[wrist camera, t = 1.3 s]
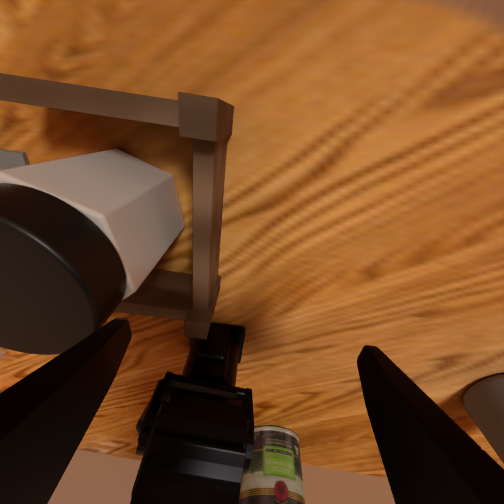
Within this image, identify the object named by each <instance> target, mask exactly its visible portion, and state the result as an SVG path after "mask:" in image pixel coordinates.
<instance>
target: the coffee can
mask: <svg viewBox="0 0 504 504" xmlns="http://www.w3.org/2000/svg"><path fill="white" fill-rule="evenodd" d="M301 470H302V469H301V459H300V450H299V438H298V436H297V435H296V434H295V433H294V432H292V431H290V430H288V429H286V428H282V427H277V426H259V427H255V428H254V445H253V453H252V458H251V463H250V466H249V469H248V471H247V473H243V477H242V483H241V490H240V496H239V504H305V499H304V491H303V490H304V489H303V481H302V480H303V479H302V471H301Z"/></svg>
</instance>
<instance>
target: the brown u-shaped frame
mask: <svg viewBox="0 0 504 504" xmlns="http://www.w3.org/2000/svg"><path fill="white" fill-rule="evenodd" d="M0 100H3V101H9V102H16V103H23V104H29V105H36V106H43V107H49V108H56V109H62V110H69V111H76V112H82V113H89V114H95V115H102V116H109V117H115V118H122V119H128V120H135V121H142V122H148V123H155V124H161V125H168V126H175V127H179V136H182V137H189V138H193V274H185V273H178V272H171V271H163V270H156V269H153V270H152V271H151V272H150V274H149V275H148V276H147V278H146V279H145V280H144V282H143V283H142V284H141V286H140V287H139V288H138V290H137V291H136V292H135V293H133V294H132V295H130V296H129V297H127V298H125V299H124V300H122V301H121V303H120V304H119V305H118V307H117V308H116V309H115V310H114V311H116V312H123V313H131V314H139V315H147V316H154V317H162V318H170V319H177V320H184V333H185V337H191V338H199V339H207V335H208V332H209V328H210V324H211V320H212V316H213V313H214V309H215V305H216V301H217V298H218V294H219V290H220V278H221V276H218V265H219V251H220V236H221V222H222V208H223V193H224V179H225V165H226V150H227V137H228V136H230V135H232V124H233V111H234V106H232V105H230V104H228V103H226V102H224V101H222V100H220V99H218V98H213V97H207V96H201V95H194V94H188V93H181V92H178V101H177V100H170V99H164V98H157V97H151V96H144V95H138V94H132V93H125V92H119V91H112V90H106V89H99V88H93V87H86V86H80V85H73V84H67V83H60V82H54V81H47V80H41V79H34V78H28V77H21V76H15V75H9V74H2V73H0Z"/></svg>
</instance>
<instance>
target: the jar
mask: <svg viewBox="0 0 504 504" xmlns="http://www.w3.org/2000/svg"><path fill="white" fill-rule="evenodd" d="M184 227H185V223H184V219H183V215H182V211H181V207H180V203H179V199H178V195H177V191H176V187H175V183H174V179H173V176H172V174H170V173H168V172H166V171H164V170H161V169H159V168H157V167H155V166H153V165H151V164H149V163H147V162H144V161H142V160H140V159H138V158H136V157H134V156H132V155H129V154H127V153H125V152H123V151H121V150H119V149H111V150H106V151H100V152H95V153H90V154H84V155H79V156H74V157H68V158H63V159H57V160H52V161H47V162H41V163H36V164H30V165H25V166H20V167H14V168H9V169H3V170H0V347H3V348H6V349H10V350H14V351H18V352H23V353H30V354H42V355H54V354H61V353H63V352H65V351H66V350H68V349H69V348H71V347H72V346H74V345H75V344H77V343H78V342H80V341H81V340H83V339H85V338H86V337H88V336H89V335H91V334H92V333H94V332H95V331H97V330H98V329H100V328H101V327H102V326H103V324H104V323H106V320H107V319H108V318H109V317H110V315H111V314H112V313H113V312H114V310H115V309H116V308H117V307H118V305H119V304H120V303H121V301H122V300H124V299H125V298H127V297H129V296H130V295H132V294H133V293H135V292H136V291H137V290H138V288H139V287H140V286H141V284H142V283H143V282H144V280H145V279H146V278H147V276H148V275H149V274H150V272H151V271H152V270H153V268H154V267H155V266H156V264H157V263H158V262H159V260H160V259H161V258H162V256H163V255H164V254H165V252H166V251H167V250H168V248H169V247H170V246H171V244H172V243H173V242H174V240H175V239H176V238H177V236H178V235H179V234H180V232H181V231H182V230H183V228H184Z"/></svg>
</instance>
